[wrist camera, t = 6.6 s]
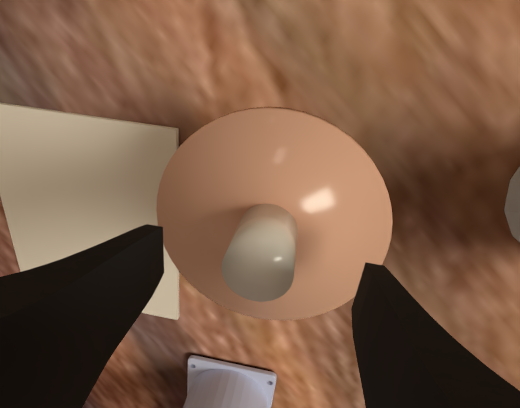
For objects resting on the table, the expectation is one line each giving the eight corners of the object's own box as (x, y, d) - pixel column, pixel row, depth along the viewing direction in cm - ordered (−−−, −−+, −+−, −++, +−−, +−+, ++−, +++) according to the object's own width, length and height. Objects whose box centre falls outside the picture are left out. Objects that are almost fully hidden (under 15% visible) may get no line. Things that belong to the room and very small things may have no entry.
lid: (356, 328, 16) (367, 398, 12) (164, 290, 17) (127, 346, 13) (423, 127, 11) (467, 153, 8) (160, 90, 12) (105, 100, 9)
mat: (179, 316, 27) (177, 319, 27) (28, 286, 28) (25, 289, 28) (178, 128, 20) (176, 129, 20) (-20, 99, 21) (-26, 100, 21)
